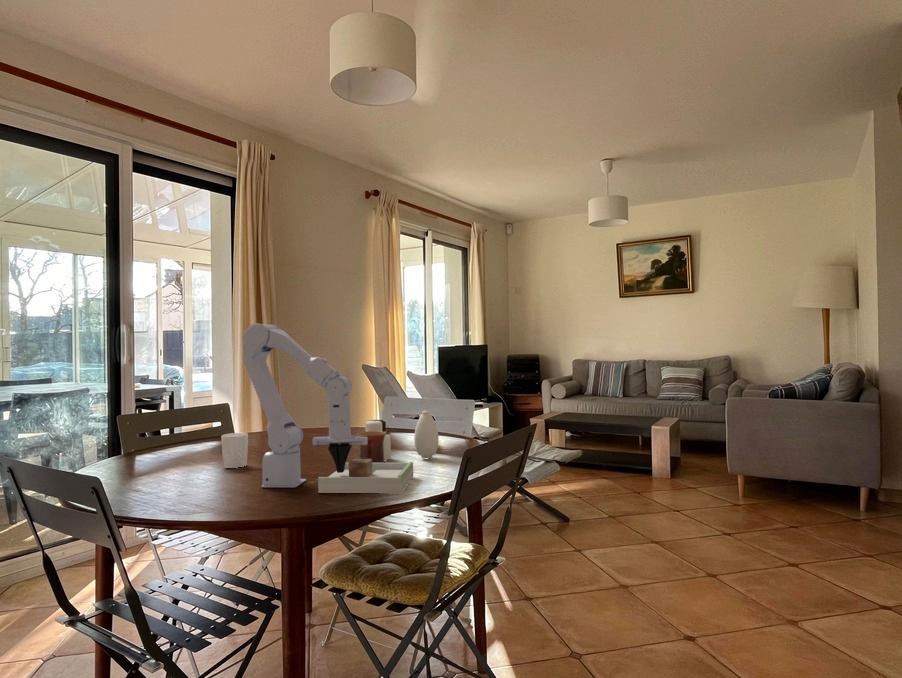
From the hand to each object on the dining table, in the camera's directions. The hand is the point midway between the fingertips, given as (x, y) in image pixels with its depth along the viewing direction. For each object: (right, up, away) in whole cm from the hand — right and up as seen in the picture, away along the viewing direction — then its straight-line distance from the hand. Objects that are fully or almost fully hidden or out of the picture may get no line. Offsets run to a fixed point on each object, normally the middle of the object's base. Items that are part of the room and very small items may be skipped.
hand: (340, 471), depth 150 cm
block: (+5, -1, -1) cm, 6 cm away
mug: (+5, -4, +20) cm, 21 cm away
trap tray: (+7, -3, -1) cm, 8 cm away
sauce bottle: (+22, -4, +32) cm, 39 cm away
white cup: (-38, -5, +26) cm, 47 cm away
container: (+5, -4, +31) cm, 31 cm away
